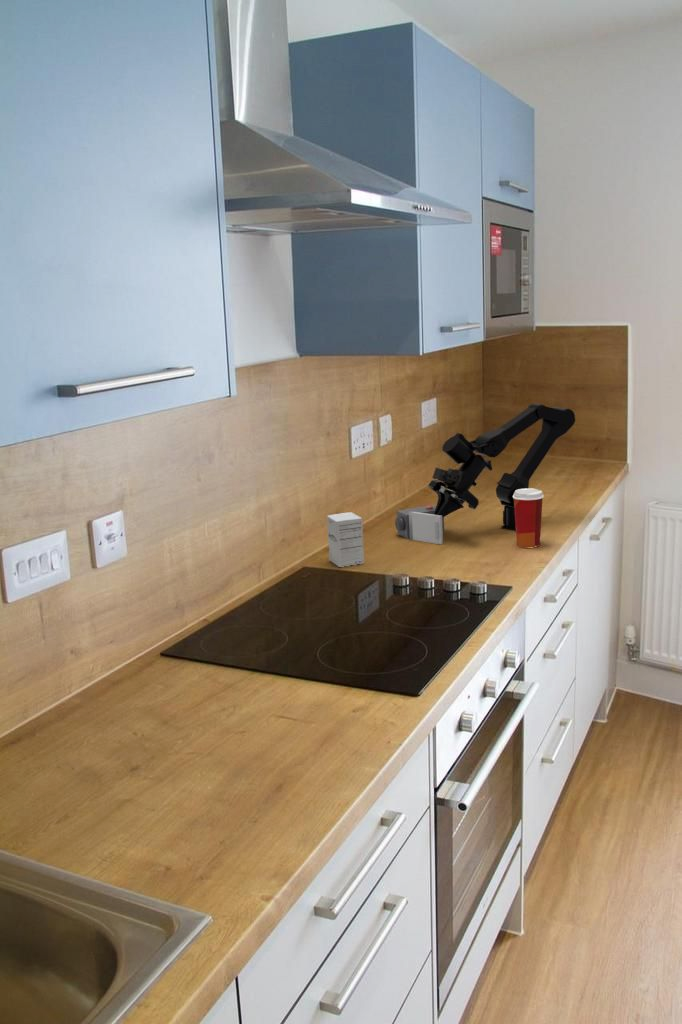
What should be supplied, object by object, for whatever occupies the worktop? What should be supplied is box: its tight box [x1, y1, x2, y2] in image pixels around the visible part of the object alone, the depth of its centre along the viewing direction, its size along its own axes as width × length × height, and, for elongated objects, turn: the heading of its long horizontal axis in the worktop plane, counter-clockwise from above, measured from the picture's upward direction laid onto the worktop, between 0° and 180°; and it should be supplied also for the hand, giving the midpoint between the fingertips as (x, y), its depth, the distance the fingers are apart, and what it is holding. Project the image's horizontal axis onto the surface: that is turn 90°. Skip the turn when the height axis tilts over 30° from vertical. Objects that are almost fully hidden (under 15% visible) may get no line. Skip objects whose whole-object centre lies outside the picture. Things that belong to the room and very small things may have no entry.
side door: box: [409, 511, 444, 545], centre depth 248 cm, size 11×2×8 cm, turn 51°
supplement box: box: [326, 511, 365, 568], centre depth 233 cm, size 7×7×13 cm
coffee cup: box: [513, 487, 545, 548], centre depth 239 cm, size 8×8×15 cm
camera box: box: [394, 504, 445, 540], centre depth 256 cm, size 13×6×8 cm, turn 113°
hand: (435, 518), depth 246 cm, fingers closed
